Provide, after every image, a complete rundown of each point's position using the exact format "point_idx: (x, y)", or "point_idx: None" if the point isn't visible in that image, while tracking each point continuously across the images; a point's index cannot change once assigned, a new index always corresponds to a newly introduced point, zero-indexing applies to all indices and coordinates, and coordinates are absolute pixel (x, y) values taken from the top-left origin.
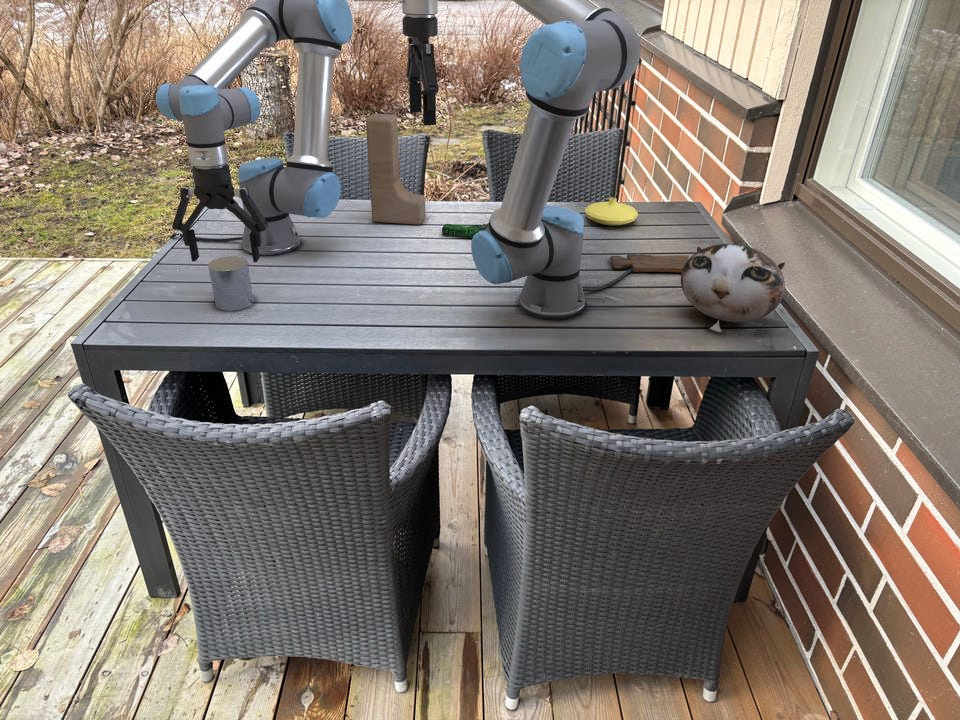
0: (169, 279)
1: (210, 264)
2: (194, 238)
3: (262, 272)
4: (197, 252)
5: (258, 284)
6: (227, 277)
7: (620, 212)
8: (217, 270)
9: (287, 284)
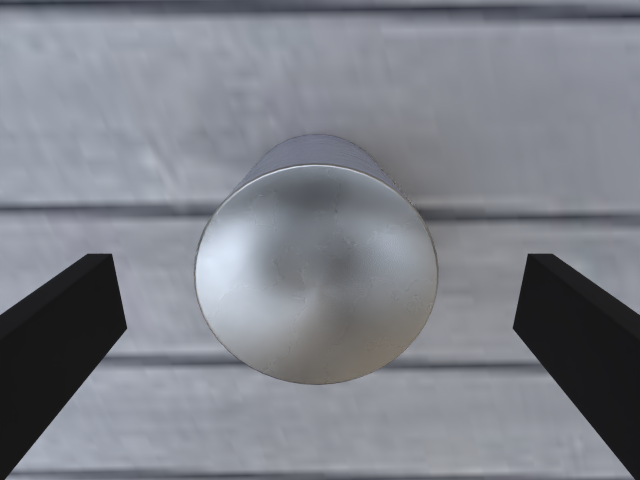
0: None
1: (422, 263)
2: (618, 421)
3: (290, 437)
4: (535, 335)
5: None
6: (292, 158)
7: None
8: (351, 169)
9: (171, 357)
